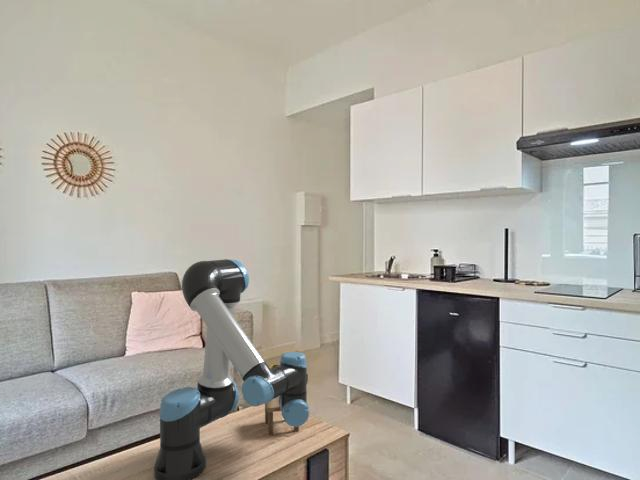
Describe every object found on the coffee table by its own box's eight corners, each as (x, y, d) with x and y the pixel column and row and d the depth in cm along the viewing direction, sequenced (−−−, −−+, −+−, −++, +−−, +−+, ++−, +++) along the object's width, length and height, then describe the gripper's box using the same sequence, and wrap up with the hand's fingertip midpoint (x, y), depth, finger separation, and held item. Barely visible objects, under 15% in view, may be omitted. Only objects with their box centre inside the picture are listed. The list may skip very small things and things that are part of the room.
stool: (267, 435, 147) (267, 408, 147) (263, 421, 159) (263, 396, 159) (300, 431, 150) (300, 404, 150) (293, 417, 162) (293, 392, 162)
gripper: (251, 410, 126) (247, 385, 147) (324, 403, 131) (310, 380, 153) (251, 386, 126) (247, 365, 147) (324, 380, 131) (310, 360, 153)
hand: (279, 372), depth 150 cm, fingers closed on flower pot, 11 cm apart
